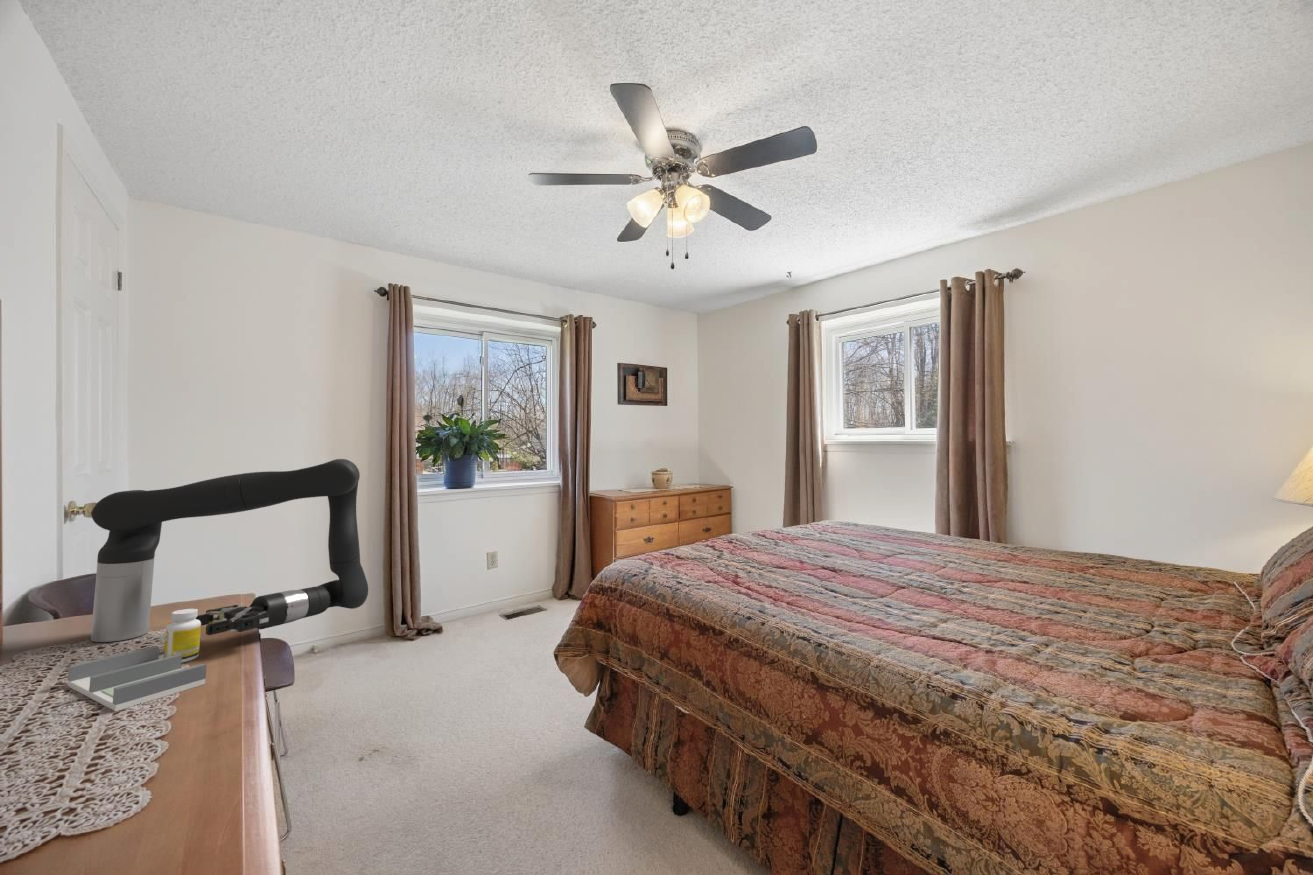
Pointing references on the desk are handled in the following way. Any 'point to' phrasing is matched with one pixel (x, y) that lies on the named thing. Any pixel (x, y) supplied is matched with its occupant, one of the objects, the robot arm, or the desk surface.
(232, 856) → the desk surface
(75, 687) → the divided tray
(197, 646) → the supplement bottle
